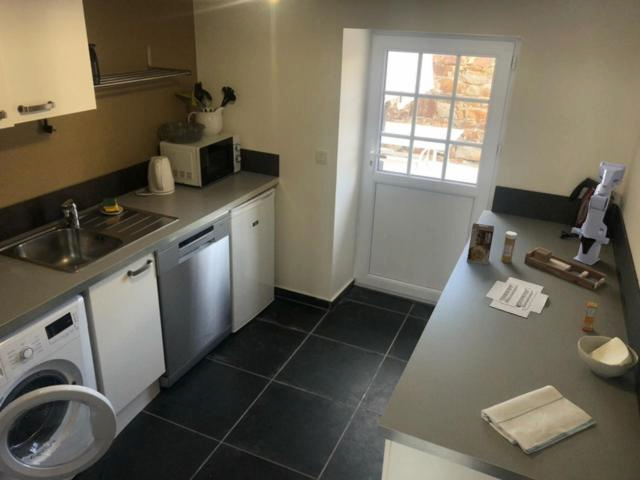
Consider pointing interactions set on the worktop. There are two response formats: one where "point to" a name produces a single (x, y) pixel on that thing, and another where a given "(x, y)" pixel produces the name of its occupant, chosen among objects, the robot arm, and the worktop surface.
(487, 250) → the coffee box
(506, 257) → the sprinkles bottle
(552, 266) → the brown wooden open box
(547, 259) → the walnut block
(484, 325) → the worktop surface
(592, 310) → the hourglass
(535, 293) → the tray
